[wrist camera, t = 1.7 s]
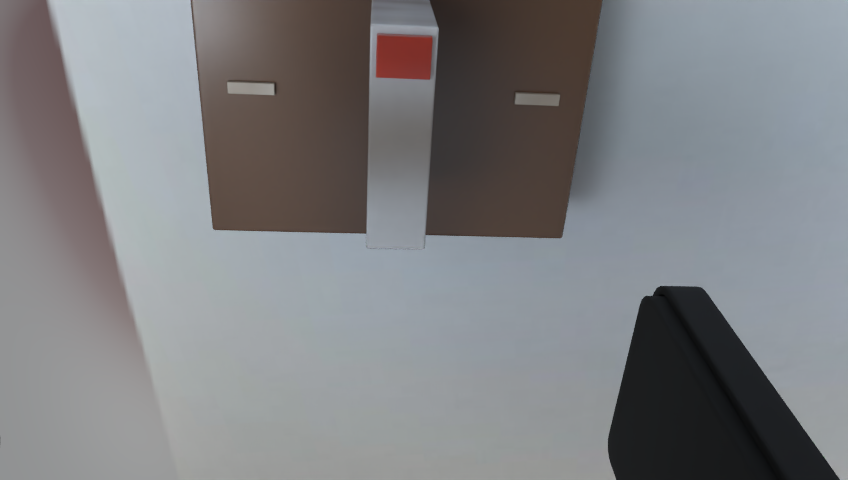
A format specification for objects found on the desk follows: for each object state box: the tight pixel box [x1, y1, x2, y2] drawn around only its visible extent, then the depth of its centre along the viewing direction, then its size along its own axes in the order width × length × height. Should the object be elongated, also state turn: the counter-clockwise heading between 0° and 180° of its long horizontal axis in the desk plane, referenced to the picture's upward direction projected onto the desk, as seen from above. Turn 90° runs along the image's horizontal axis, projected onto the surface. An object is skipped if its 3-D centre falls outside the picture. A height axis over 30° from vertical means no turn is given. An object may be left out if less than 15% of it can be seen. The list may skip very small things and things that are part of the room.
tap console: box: [191, 0, 603, 238], centre depth 23 cm, size 12×10×3 cm
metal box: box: [366, 0, 439, 250], centre depth 20 cm, size 6×2×5 cm, turn 177°
